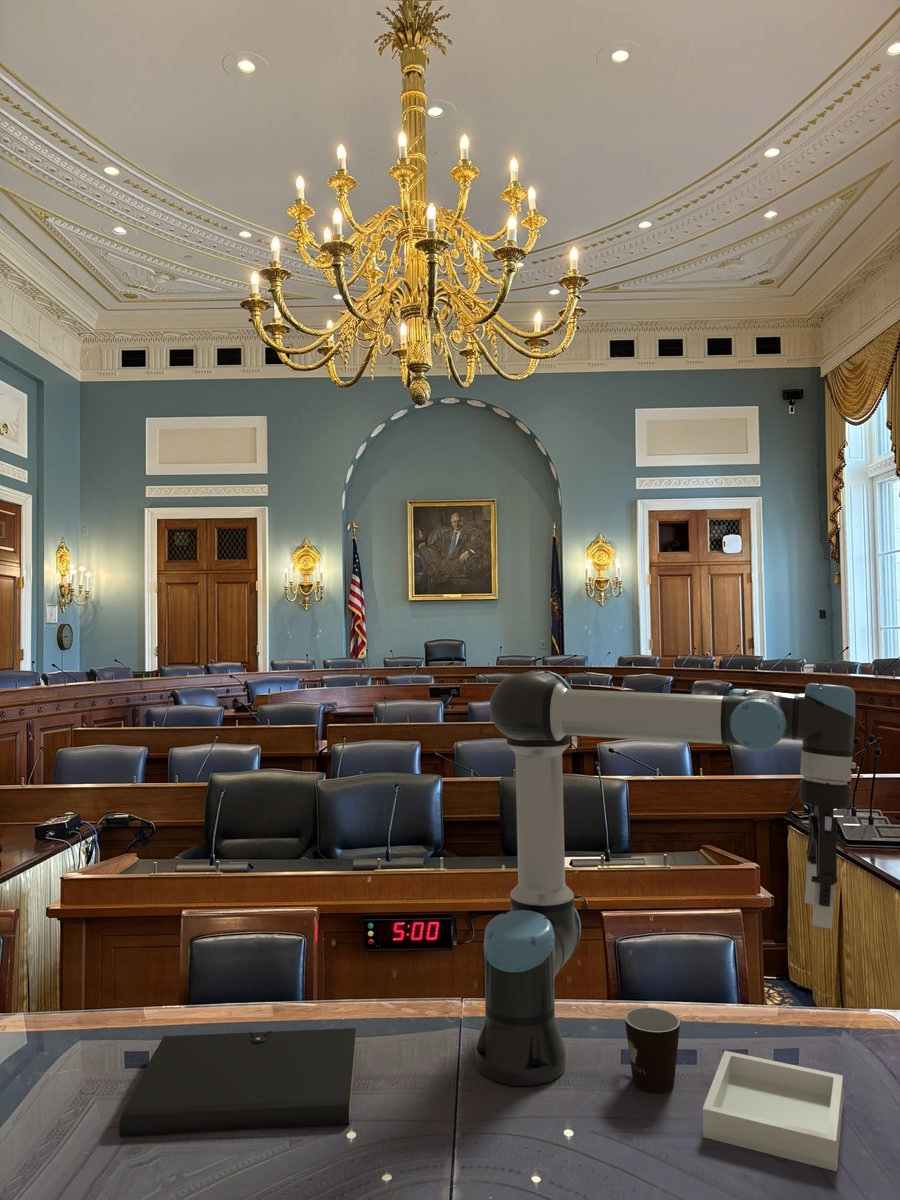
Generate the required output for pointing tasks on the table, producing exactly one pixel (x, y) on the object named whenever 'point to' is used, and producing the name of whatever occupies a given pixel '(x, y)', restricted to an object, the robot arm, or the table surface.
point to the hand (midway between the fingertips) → (817, 914)
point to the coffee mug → (652, 1048)
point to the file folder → (244, 1082)
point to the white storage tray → (776, 1109)
